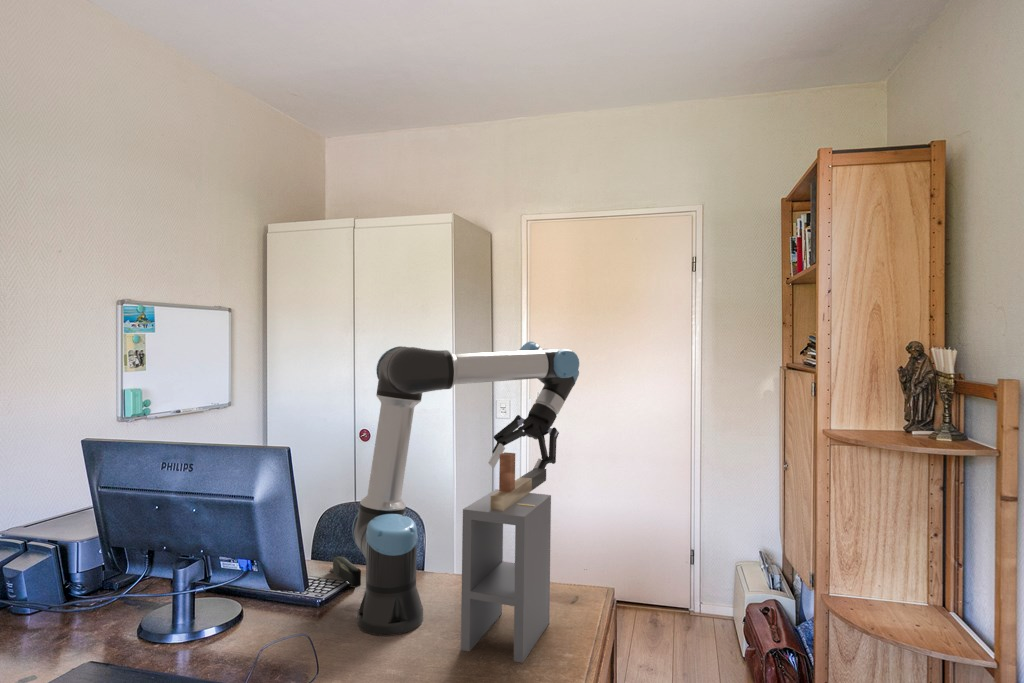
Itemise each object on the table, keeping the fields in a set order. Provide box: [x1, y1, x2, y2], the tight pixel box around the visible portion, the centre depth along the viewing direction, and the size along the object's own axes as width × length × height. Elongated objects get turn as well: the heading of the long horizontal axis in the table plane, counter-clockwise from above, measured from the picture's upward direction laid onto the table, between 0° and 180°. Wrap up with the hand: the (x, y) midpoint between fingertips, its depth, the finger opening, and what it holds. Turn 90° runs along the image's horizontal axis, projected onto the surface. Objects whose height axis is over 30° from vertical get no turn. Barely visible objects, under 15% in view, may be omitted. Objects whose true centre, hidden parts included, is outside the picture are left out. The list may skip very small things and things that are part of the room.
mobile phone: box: [329, 555, 362, 587], centre depth 164 cm, size 5×3×15 cm
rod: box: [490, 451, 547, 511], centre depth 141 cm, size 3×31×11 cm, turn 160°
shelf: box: [460, 488, 552, 664], centre depth 133 cm, size 14×19×30 cm
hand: (510, 473), depth 162 cm, fingers open, 13 cm apart
